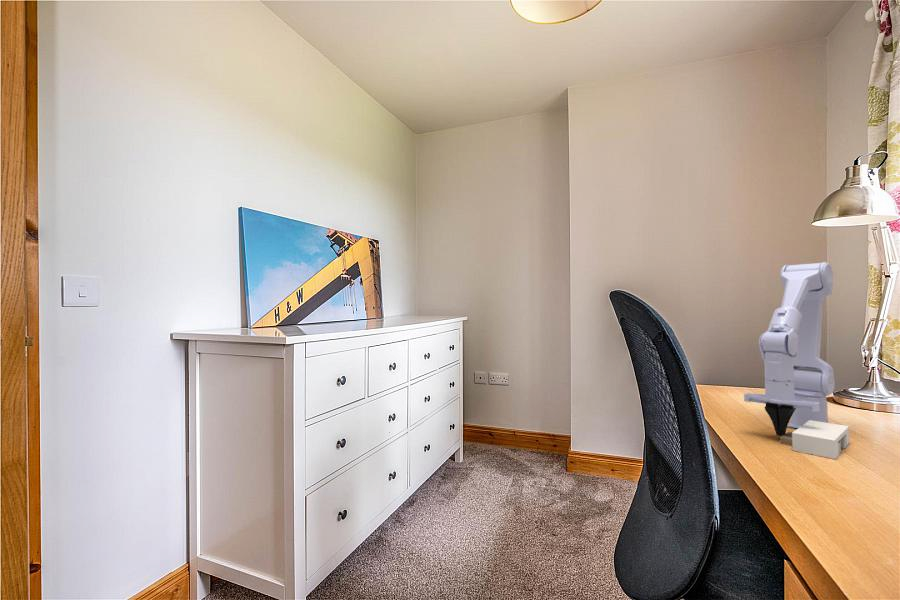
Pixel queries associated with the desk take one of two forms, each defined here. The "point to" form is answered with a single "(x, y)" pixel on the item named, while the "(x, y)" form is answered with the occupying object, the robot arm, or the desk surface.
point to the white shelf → (820, 439)
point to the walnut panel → (786, 439)
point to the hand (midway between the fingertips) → (780, 435)
